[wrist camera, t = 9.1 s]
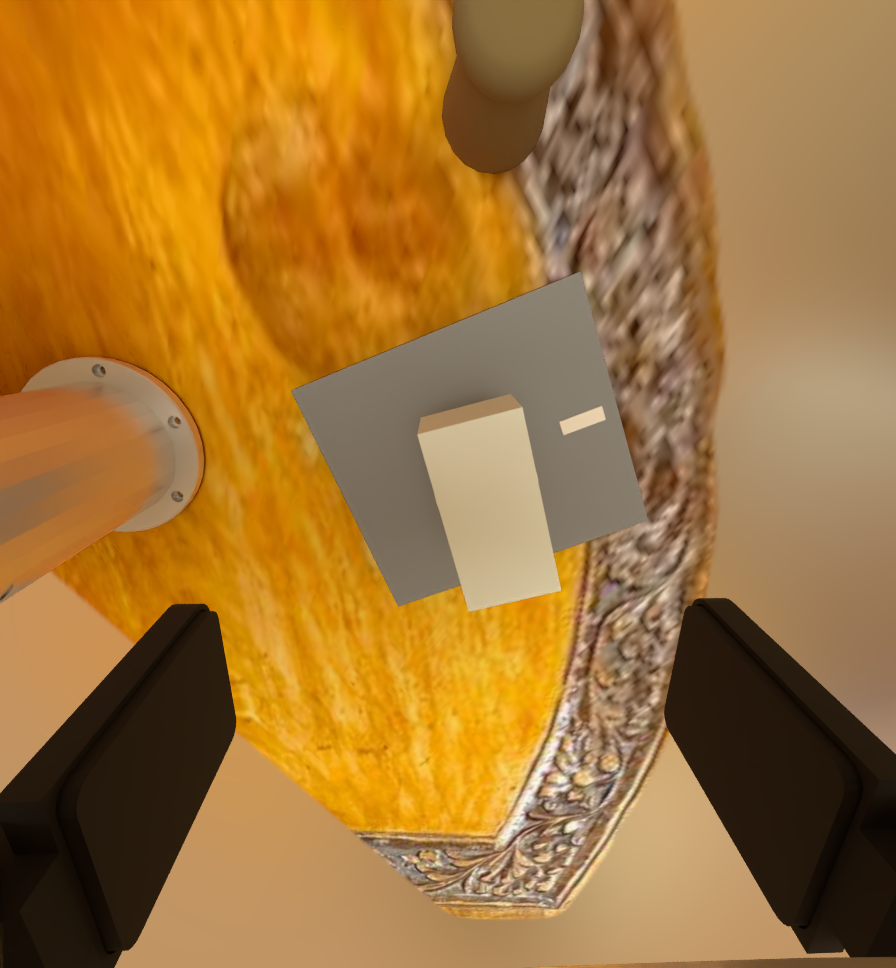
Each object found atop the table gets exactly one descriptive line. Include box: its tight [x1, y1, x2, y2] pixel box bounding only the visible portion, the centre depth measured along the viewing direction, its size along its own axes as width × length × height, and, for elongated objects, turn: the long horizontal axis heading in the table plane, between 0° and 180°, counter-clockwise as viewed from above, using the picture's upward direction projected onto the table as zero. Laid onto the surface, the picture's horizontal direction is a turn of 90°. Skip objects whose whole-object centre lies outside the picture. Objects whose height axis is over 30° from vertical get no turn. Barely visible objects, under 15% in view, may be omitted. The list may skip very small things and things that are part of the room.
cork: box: [442, 0, 584, 174], centre depth 23 cm, size 6×6×11 cm
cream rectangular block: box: [417, 394, 561, 612], centre depth 27 cm, size 10×6×7 cm, turn 15°
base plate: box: [291, 272, 648, 607], centre depth 32 cm, size 20×18×4 cm
